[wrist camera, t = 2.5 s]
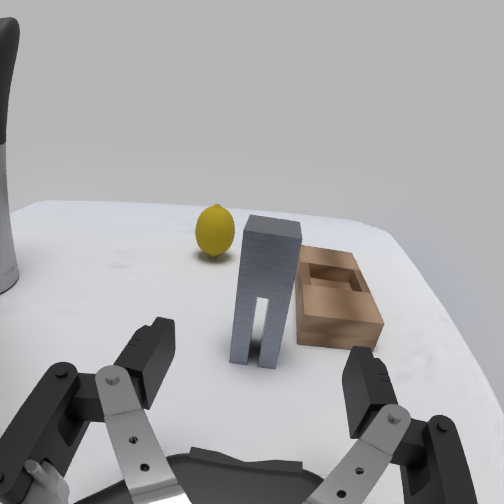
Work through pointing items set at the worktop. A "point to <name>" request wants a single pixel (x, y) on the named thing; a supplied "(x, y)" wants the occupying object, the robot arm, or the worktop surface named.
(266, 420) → the worktop surface
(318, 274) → the wooden slotted base
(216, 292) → the worktop surface
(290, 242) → the block
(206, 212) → the lemon
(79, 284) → the worktop surface
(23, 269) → the worktop surface
